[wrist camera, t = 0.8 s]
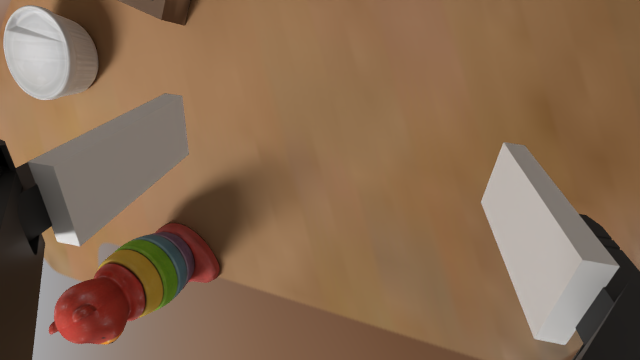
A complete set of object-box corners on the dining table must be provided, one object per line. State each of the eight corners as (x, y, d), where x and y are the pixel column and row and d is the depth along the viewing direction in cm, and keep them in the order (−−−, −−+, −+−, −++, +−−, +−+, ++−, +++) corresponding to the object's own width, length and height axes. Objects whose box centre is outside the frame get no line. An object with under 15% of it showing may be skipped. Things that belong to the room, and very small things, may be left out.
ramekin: (84, -2, 46) (43, -12, 42) (118, 81, 48) (83, 80, 43) (32, 34, 50) (-11, 28, 46) (65, 109, 52) (27, 111, 47)
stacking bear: (171, 292, 54) (57, 381, 38) (141, 233, 53) (10, 298, 37) (225, 275, 50) (124, 366, 34) (194, 211, 49) (74, 273, 33)
